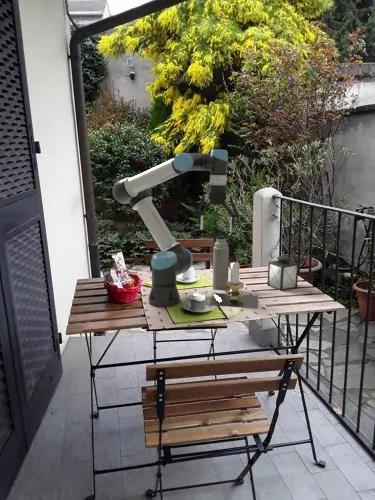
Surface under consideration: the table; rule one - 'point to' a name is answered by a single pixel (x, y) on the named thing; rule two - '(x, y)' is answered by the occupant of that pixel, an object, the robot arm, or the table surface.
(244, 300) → the collar stand
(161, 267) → the robot arm
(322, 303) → the table surface
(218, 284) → the thermos bottle
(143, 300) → the table surface
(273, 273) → the lantern
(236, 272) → the tube
